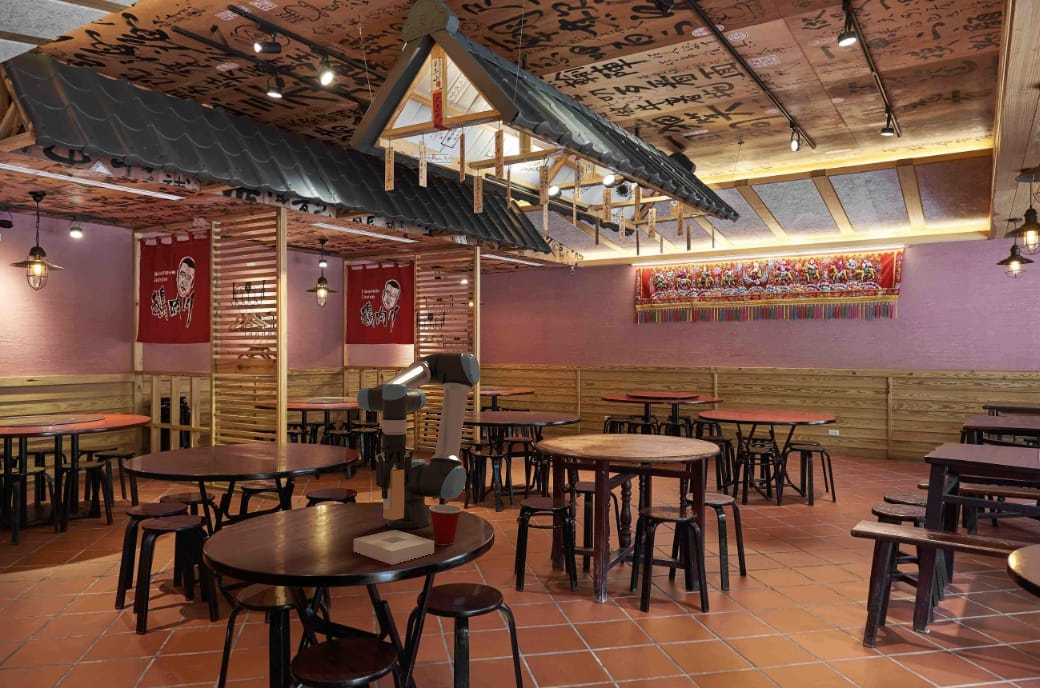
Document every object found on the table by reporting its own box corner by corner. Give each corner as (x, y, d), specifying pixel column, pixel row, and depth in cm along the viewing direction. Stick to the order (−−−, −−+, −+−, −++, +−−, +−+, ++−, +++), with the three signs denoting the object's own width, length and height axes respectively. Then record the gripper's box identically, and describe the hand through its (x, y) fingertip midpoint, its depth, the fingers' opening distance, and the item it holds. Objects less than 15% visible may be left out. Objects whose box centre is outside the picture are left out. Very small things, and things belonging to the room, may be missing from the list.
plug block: (395, 515, 225) (395, 468, 225) (403, 517, 222) (404, 469, 222) (383, 517, 222) (383, 469, 222) (392, 520, 218) (392, 471, 219)
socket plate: (395, 541, 234) (395, 529, 234) (434, 553, 221) (434, 540, 221) (353, 551, 223) (353, 538, 223) (392, 564, 209) (392, 551, 209)
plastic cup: (461, 548, 227) (462, 510, 227) (427, 548, 227) (428, 510, 227) (462, 539, 238) (462, 503, 238) (429, 539, 237) (430, 503, 238)
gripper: (409, 430, 231) (408, 501, 231) (363, 434, 218) (363, 510, 218) (423, 431, 226) (423, 505, 225) (378, 436, 213) (377, 514, 213)
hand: (393, 507), depth 222 cm, fingers closed on plug block, 4 cm apart
